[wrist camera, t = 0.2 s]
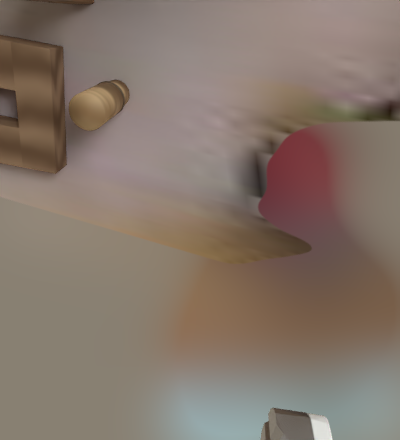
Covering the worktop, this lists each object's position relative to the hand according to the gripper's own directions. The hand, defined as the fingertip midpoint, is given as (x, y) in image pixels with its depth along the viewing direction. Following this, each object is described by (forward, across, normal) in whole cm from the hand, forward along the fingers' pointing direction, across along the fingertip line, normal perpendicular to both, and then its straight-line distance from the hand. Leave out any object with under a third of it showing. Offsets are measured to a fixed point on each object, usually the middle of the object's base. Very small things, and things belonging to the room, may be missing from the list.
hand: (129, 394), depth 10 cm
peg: (+48, +14, +3) cm, 50 cm away
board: (+48, +30, +7) cm, 57 cm away
